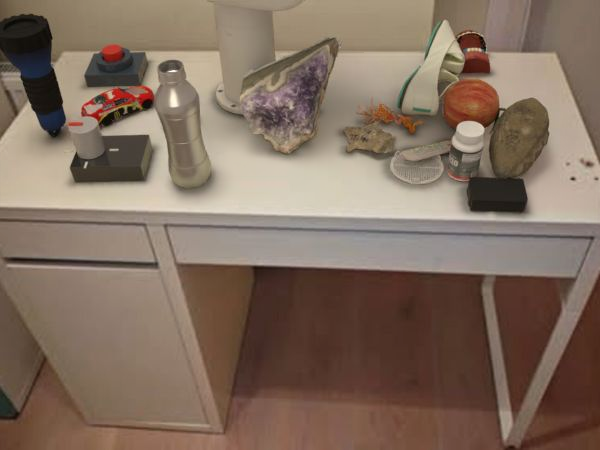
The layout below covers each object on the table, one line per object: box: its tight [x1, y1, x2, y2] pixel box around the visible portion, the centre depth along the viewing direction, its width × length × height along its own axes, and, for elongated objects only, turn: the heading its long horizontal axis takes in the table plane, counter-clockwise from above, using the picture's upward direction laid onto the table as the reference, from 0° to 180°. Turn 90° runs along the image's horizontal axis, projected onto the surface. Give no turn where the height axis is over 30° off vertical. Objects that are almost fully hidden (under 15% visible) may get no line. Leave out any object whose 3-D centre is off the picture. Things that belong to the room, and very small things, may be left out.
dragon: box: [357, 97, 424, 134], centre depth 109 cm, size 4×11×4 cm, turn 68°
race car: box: [80, 85, 155, 127], centre depth 115 cm, size 13×5×4 cm, turn 127°
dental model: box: [455, 29, 491, 74], centre depth 122 cm, size 7×5×10 cm
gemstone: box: [240, 36, 343, 155], centre depth 105 cm, size 18×16×14 cm
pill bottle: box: [446, 121, 486, 182], centre depth 98 cm, size 5×5×8 cm
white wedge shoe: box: [396, 19, 465, 116], centre depth 115 cm, size 8×24×8 cm
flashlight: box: [0, 13, 67, 138], centre depth 105 cm, size 8×8×20 cm
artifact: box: [342, 121, 398, 154], centre depth 106 cm, size 7×3×10 cm
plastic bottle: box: [153, 58, 212, 189], centre depth 95 cm, size 6×7×20 cm
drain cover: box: [389, 150, 445, 185], centre depth 102 cm, size 8×8×1 cm
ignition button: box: [101, 44, 123, 62], centre depth 122 cm, size 4×4×2 cm
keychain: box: [401, 140, 452, 162], centre depth 104 cm, size 10×1×3 cm
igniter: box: [83, 46, 148, 88], centre depth 124 cm, size 10×8×4 cm
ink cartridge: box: [466, 176, 529, 214], centre depth 96 cm, size 5×2×8 cm
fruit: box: [442, 78, 507, 135], centre depth 106 cm, size 9×10×10 cm
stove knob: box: [67, 116, 105, 159], centre depth 101 cm, size 4×4×5 cm
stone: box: [488, 97, 550, 178], centre depth 100 cm, size 17×9×8 cm, turn 156°
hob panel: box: [63, 134, 153, 183], centre depth 104 cm, size 13×9×3 cm
